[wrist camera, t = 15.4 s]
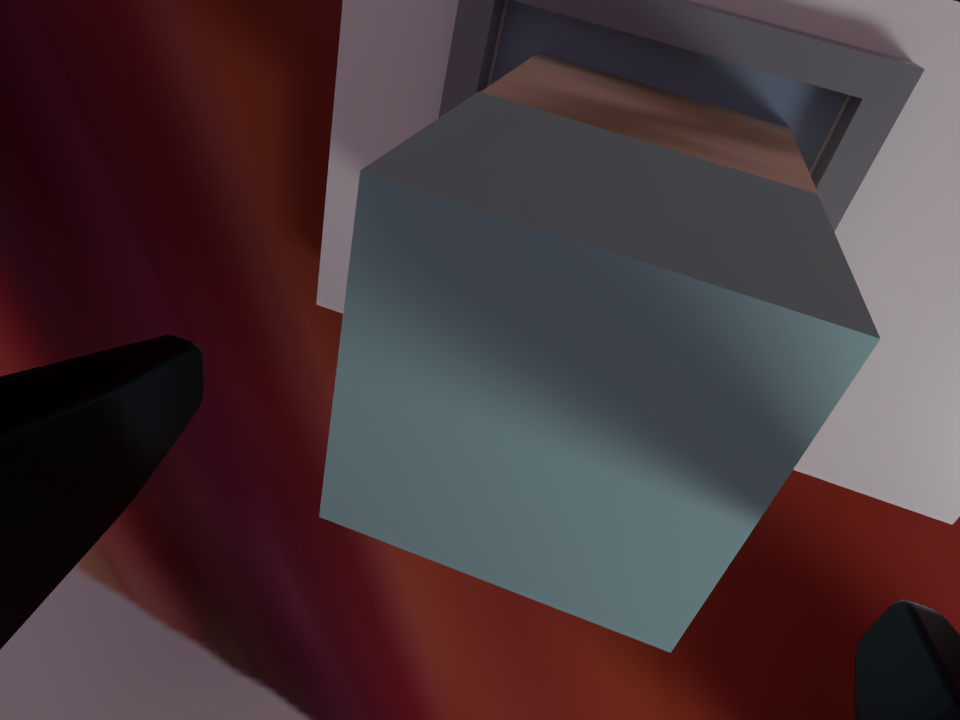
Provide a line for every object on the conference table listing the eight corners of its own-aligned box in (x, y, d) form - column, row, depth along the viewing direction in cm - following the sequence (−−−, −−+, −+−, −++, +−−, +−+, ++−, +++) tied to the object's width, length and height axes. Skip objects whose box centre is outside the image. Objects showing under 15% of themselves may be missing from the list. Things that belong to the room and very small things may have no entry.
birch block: (789, 127, 15) (818, 195, 11) (686, 342, 19) (681, 454, 15) (538, 52, 16) (480, 92, 12) (483, 273, 19) (423, 363, 15)
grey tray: (1265, 81, 14) (1379, 112, 12) (933, 479, 21) (963, 550, 19) (390, -147, 17) (336, -162, 14) (343, 278, 23) (301, 318, 21)
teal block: (817, 194, 11) (880, 339, 7) (680, 454, 15) (670, 652, 11) (478, 91, 12) (360, 170, 8) (422, 362, 15) (319, 516, 11)
